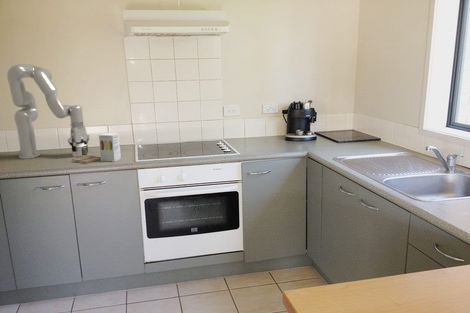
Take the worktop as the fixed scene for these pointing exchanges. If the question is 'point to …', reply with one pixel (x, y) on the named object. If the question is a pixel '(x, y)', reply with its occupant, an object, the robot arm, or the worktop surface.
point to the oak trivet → (86, 159)
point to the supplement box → (109, 147)
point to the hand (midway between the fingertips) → (80, 150)
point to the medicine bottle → (80, 149)
